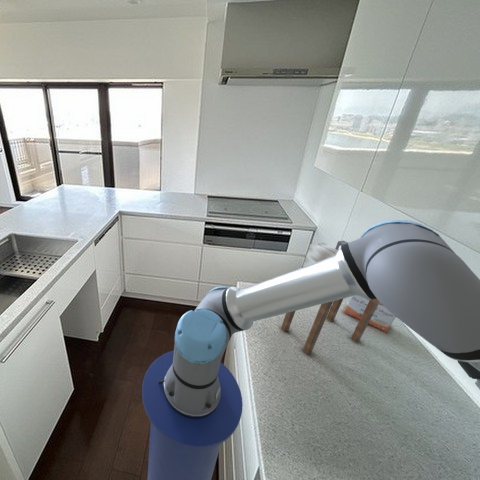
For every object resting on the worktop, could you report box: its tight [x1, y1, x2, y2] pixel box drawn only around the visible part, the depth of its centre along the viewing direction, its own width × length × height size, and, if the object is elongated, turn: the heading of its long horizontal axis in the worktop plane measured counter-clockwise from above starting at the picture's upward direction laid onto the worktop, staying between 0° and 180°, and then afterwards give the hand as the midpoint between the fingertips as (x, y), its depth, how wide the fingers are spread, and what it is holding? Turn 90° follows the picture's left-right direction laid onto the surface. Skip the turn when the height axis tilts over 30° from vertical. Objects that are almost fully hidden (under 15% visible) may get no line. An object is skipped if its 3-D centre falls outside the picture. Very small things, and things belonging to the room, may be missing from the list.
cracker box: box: [343, 295, 397, 333], centre depth 95 cm, size 14×6×21 cm, turn 42°
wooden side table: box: [280, 240, 380, 355], centre depth 83 cm, size 12×23×34 cm, turn 107°
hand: (407, 269), depth 62 cm, fingers closed on white book, 2 cm apart
